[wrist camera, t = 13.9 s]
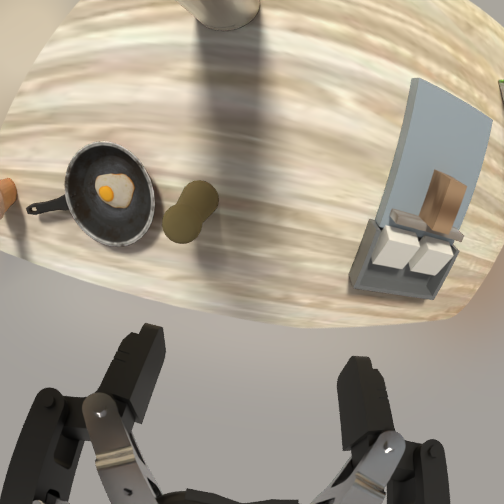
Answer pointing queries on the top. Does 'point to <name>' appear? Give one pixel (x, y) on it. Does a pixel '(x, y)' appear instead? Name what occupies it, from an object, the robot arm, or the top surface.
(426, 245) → the tile
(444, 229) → the scraper
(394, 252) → the tile
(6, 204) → the potted plant
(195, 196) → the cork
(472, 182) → the board
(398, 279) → the tray
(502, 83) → the syrup box
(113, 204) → the frying pan
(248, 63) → the top surface
